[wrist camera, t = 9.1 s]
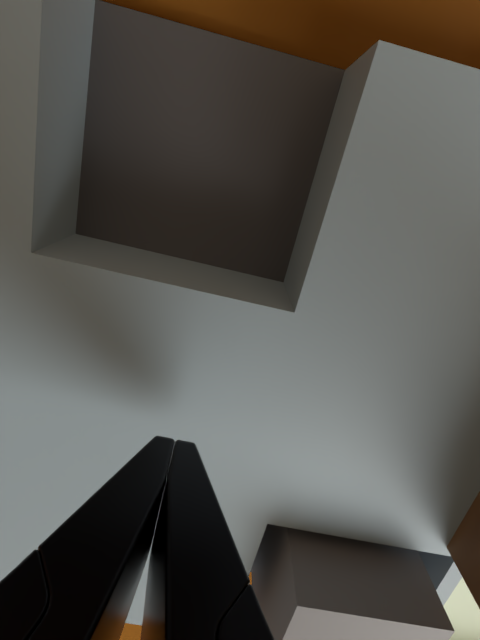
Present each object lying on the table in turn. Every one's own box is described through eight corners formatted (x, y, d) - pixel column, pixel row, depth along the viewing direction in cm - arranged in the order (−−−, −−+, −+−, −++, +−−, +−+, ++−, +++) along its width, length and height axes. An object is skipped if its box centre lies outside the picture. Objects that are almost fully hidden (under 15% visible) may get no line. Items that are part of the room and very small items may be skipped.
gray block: (251, 562, 14) (255, 700, 11) (280, 479, 13) (296, 605, 9) (355, 579, 15) (393, 720, 11) (395, 500, 13) (454, 631, 10)
